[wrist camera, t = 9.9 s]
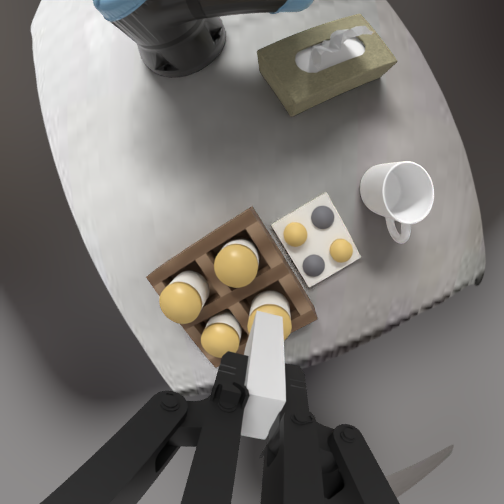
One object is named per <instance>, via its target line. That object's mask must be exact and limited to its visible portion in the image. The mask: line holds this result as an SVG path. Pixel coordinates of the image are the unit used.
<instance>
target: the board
mask: <svg viewBox="0 0 504 504" xmlns="http://www.w3.org/2000/svg"><path fill="white" fill-rule="evenodd" d="M235 237H245V238H248V239H250V240H252V241H253V242H254V243H255V244H256V246H257V247H258V249H259V253H260V259H259V265H258V270H257V274H256V277H255V278H254V280H253V281H252V282H251V283H250V284H248V285H246V286H244V287H240V288H234V287H230V286H227V285H225V284H224V283H222V282H221V281H220V280H219V279H218V277H217V276H216V273H215V270H214V262H215V258H216V256H217V255H218V253H219V252H220V251H221V249H222V248H223V247H224V245H225V244H226V243H227V242H228V241H229V240H230V239H232V238H235ZM184 271H194V272H197V273H199V274H201V275H202V276H203V277H204V278H205V279H206V281H207V282H208V285H209V296H208V298H207V300H206V302H205V304H204V306H203V308H202V309H201V311H200V313H199V315H198V317H197V318H196V319H195V320H194V321H192V322H190V323H187V324H180V325H181V326H182V327H183V328H184V330H185V331H186V332H187V334H188V335H189V336H190V337H191V339H192V340H193V341H194V342H195V344H196V345H197V346H198V347H199V349H200V350H201V351H202V352H203V353H204V355H205V356H206V357H207V358H208V359H209V361H210V362H211V363H212V364H213V365H214V367H215V368H216V367H218V366H220V362H221V359H222V358H218V357H214V356H212V355H210V354H209V353H207V352H206V351H205V350H204V348H203V346H202V344H201V336H202V334H203V331H204V329H205V327H206V325H207V322H208V320H209V318H210V317H211V316H213V315H215V314H217V313H219V312H221V311H223V310H224V309H229V310H230V311H231V312H232V313H233V315H234V316H235V318H236V319H237V320H238V322H239V323H240V324H241V326H242V327H243V328H242V333H241V338H240V342H239V347H238V350H237V351H236V353H238V354H242V355H244V352H245V347H246V344H247V341H248V337H249V332H248V328H247V325H248V319H249V314H250V308H251V303H252V301H253V299H254V298H255V297H256V296H257V295H258V294H259V293H261V292H264V291H269V290H271V291H277V292H279V293H281V294H283V295H284V296H285V297H286V299H287V300H288V302H289V307H290V316H291V325H292V328H291V332H290V333H292V332H294V331H296V330H298V329H300V328H302V327H304V326H306V325H307V324H309V323H311V322H313V321H315V320H317V315H316V312H315V308H314V306H313V304H312V302H311V301H310V299H309V297H308V296H307V294H306V292H305V291H304V289H303V287H302V286H301V284H300V282H299V281H298V279H297V278H296V276H295V274H294V273H293V271H292V269H291V268H290V266H289V264H288V263H287V261H286V260H285V258H284V256H283V255H282V253H281V251H280V250H279V248H278V247H277V245H276V243H275V242H274V240H273V238H272V237H271V235H270V234H269V232H268V230H267V229H266V227H265V226H264V224H263V222H262V221H261V219H260V218H259V216H258V215H257V213H256V211H255V210H254V208H253V207H250V208H249V209H247V210H245V211H244V212H242V213H241V214H239V215H237V216H236V217H234V218H233V219H231V220H230V221H228V222H226V223H225V224H223V225H222V226H220V227H219V228H217V229H215V230H214V231H212V232H211V233H209V234H208V235H206V236H205V237H203V238H202V239H200V240H199V241H197V242H195V243H194V244H192V245H191V246H189V247H188V248H186V249H185V250H183V251H182V252H180V253H179V254H177V255H176V256H174V257H173V258H171V259H170V260H168V261H167V262H165V263H164V264H163V265H161V266H160V267H158V268H157V269H155V270H154V271H153V272H152V273H150V274H149V275H148V276H147V277H146V278H147V279H148V281H149V282H150V283H151V285H152V286H153V288H154V289H155V291H156V292H157V293H158V295H159V296H160V295H161V293H162V291H163V290H164V289H165V288H166V287H167V286H168V285H169V284H170V283H171V282H172V281H173V279H174V278H175V277H176V276H177V275H178V274H180V273H181V272H184Z"/></svg>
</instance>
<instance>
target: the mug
mask: <svg viewBox="0 0 504 504" xmlns="http://www.w3.org/2000/svg"><path fill="white" fill-rule="evenodd" d="M360 194H361V198H362V200H363V202H364V204H365V205H366V206H367V208H368V209H370V210H371V211H372V212H374V213H376V214H378V215H381V216H384V217H385V219H386V224H387V228H388V231H389V233H390V235H391V237H392V238H393V240H394V241H395V242H397V243H399V244H403V243H405V242H407V240H408V239H409V237H410V233H411V224H415V223H418V222H420V221H421V220H423V219H424V218H425V217H426V216H427V215H428V213H429V212H430V210H431V208H432V205H433V201H434V187H433V183H432V180H431V178H430V176H429V174H428V173H427V172H426V170H425V169H424V168H423V167H421V166H420V165H418V164H416V163H414V162H410V161H404V162H395V163H386V164H379V165H375V166H373V167H371V168H370V169H368V170H367V171H366V172H365V174H364V175H363V177H362V179H361V183H360ZM394 220H395V221H398V222H400V223H401V235H400V234H399V233H398V231H397V229H396V227H395V223H394Z"/></svg>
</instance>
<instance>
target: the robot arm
mask: <svg viewBox="0 0 504 504" xmlns="http://www.w3.org/2000/svg"><path fill="white" fill-rule="evenodd" d="M313 1H314V0H93V4H94V6H95V8H96V9H97V10H98V11H99V12H100V13H101V14H102V15H103V16H104V18H105V19H106V20H108V21H110V22H111V23H112V24H113V25H115V26H116V27H117V28H119V29H120V30H121V31H122V32H124V33H125V34H126V35H127V36H128V37H130V38H131V39H132V40H133V41H135V42H136V43H137V45H138V49H139V52H140V56H141V58H142V60H143V62H144V63H145V65H146V66H147V67H148V68H150V69H151V70H152V71H153V72H155V73H157V74H159V75H161V76H166V77H181V76H186V75H189V74H192V73H195V72H197V71H199V70H201V69H203V68H204V67H206V66H207V65H209V64H210V63H211V62H212V61H213V60H214V59H215V58H216V57H217V56H218V55H219V53H220V52H221V50H222V48H223V46H224V43H225V38H226V32H225V28H224V25H223V23H222V21H221V19H220V16H227V15H237V14H248V13H266V12H269V13H270V14H276V13H279V12H299V11H302V10H304V9H306V8H308V7H309V6H310V5H311V4H312V2H313ZM268 434H269V436H268V437H269V438H268V443H267V444H266V446H265V448H264V450H263V451H262V453H261V455H260V458H262V457H263V456H264V466H263V478H262V492H261V504H399V502H398V500H397V498H396V496H395V494H394V492H393V491H392V489H391V487H390V485H389V483H388V481H387V480H386V478H385V476H384V474H383V472H382V470H381V468H380V467H379V465H378V463H377V461H376V459H375V458H374V456H373V454H372V452H371V450H370V448H369V446H368V445H367V443H366V441H365V439H364V437H363V436H362V434H361V432H360V431H359V430H358V429H357V428H355V427H354V426H351V425H348V424H342V425H339V426H337V427H336V428H335V429H332V428H329V427H326V426H323V425H321V424H319V423H318V422H316V420H315V417H314V416H313V414H312V413H311V412H309V408H308V399H307V390H306V383H305V374H304V373H303V371H302V369H301V368H300V366H295V365H290V364H285V358H284V336H283V317H281V316H277V315H273V314H269V313H265V312H261V311H256V314H255V318H254V321H253V324H252V328H251V331H250V334H249V337H248V341H247V344H246V347H245V352H244V355H242V354H238V353H234V352H230V351H228V352H226V353H225V354H224V355H223V356H222V359H221V362H220V366H219V369H218V373H217V376H216V380H215V383H214V386H213V388H212V392H211V395H210V396H209V397H208V398H206V399H204V400H201V401H186V400H185V398H184V397H183V396H181V395H180V394H179V393H176V392H173V391H162V392H158V393H157V394H155V395H154V396H153V397H152V398H151V399H150V400H149V401H148V402H147V403H146V404H145V405H144V406H143V407H142V408H141V409H140V410H139V411H138V412H137V413H136V414H135V415H134V416H133V417H132V418H131V419H130V420H129V421H128V422H127V423H126V424H125V425H124V426H123V427H122V428H121V429H120V430H119V431H118V432H117V433H116V434H115V435H114V436H113V437H112V438H111V439H110V440H109V441H108V442H107V443H105V445H103V446H102V447H101V448H100V449H99V450H98V451H97V452H96V453H95V454H94V455H93V456H92V457H91V458H90V459H89V460H88V461H86V463H84V464H83V465H82V466H81V467H80V468H79V469H78V470H77V471H76V472H75V473H74V474H73V475H71V476H70V477H69V478H68V479H67V480H66V481H65V482H64V483H63V484H62V485H61V486H60V487H58V488H57V489H56V490H55V491H54V492H53V493H52V494H50V496H48V497H47V498H46V499H45V500H44V501H43V502H41V503H40V504H137V502H138V501H139V500H140V499H141V497H142V496H143V495H144V494H145V493H146V491H147V490H148V489H149V487H150V486H151V485H152V484H153V482H154V481H155V480H156V479H157V477H158V476H159V475H160V473H161V472H162V471H163V469H164V468H165V467H166V466H167V464H168V463H169V461H170V460H171V459H172V458H173V456H174V455H175V454H176V452H177V451H178V449H179V448H180V447H181V446H193V447H195V446H196V451H195V454H194V458H193V461H192V465H191V469H190V473H189V476H188V479H187V483H186V487H185V491H184V494H183V498H182V501H181V504H231V499H232V492H233V485H234V479H235V471H236V465H237V458H238V450H239V443H240V436H241V435H243V436H248V437H254V438H259V439H266V437H267V435H268Z"/></svg>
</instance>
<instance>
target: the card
mask: <svg viewBox="0 0 504 504" xmlns="http://www.w3.org/2000/svg"><path fill="white" fill-rule="evenodd" d="M271 226H272V228H273V229H274V231H275V232H276V234H277V236H278V237H279V239H280V241H281V242H282V244H283V245H284V247H285V249H286V250H287V252H288V254H289V255H290V257H291V259H292V260H293V262H294V264H295V265H296V267H297V269H298V270H299V272H300V274H301V275H302V277H303V279H304V280H305V282H306V284H307V285H308V287H311V286H313V285H315V284H317V283H318V282H320V281H322V280H324V279H325V278H327V277H329V276H330V275H332V274H334V273H336V272H337V271H339V270H341V269H342V268H344V267H346V266H347V265H349V264H351V263H352V262H354V261H356V260H357V259H359V258H361V256H360V254H359V252H358V250H357V248H356V246H355V244H354V242H353V240H352V238H351V236H350V234H349V232H348V230H347V229H346V227H345V225H344V223H343V221H342V219H341V217H340V215H339V214H338V212H337V210H336V208H335V206H334V205H333V203H332V201H331V199H330V198H329V196H328V194H327V192H325V193H323V194H321V195H320V196H318V197H316V198H315V199H313V200H311V201H310V202H308V203H306V204H305V205H303V206H301V207H299V208H298V209H296V210H294V211H293V212H291V213H289V214H288V215H286V216H284V217H283V218H281V219H279V220H278V221H276V222H274V223H273V224H271Z"/></svg>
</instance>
